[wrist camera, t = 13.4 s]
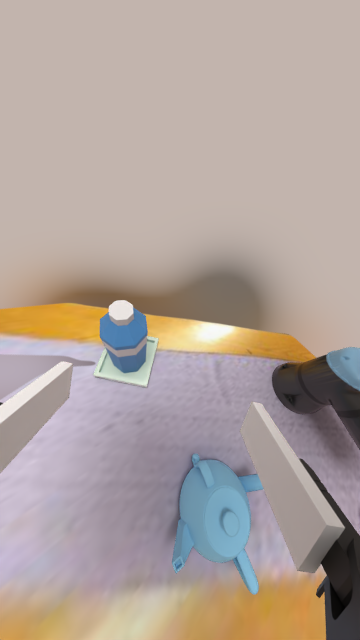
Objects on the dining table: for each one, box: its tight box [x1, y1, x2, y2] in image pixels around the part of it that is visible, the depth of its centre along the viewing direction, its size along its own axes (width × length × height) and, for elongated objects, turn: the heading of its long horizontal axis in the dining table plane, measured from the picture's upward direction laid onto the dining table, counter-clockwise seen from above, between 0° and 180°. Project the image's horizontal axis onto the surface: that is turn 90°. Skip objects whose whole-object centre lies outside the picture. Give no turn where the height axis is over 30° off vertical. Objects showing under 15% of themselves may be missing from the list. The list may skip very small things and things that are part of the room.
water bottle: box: [100, 300, 148, 373], centre depth 39 cm, size 9×9×25 cm
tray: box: [93, 336, 159, 388], centre depth 50 cm, size 14×14×2 cm
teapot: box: [172, 454, 264, 594], centre depth 34 cm, size 15×17×11 cm
